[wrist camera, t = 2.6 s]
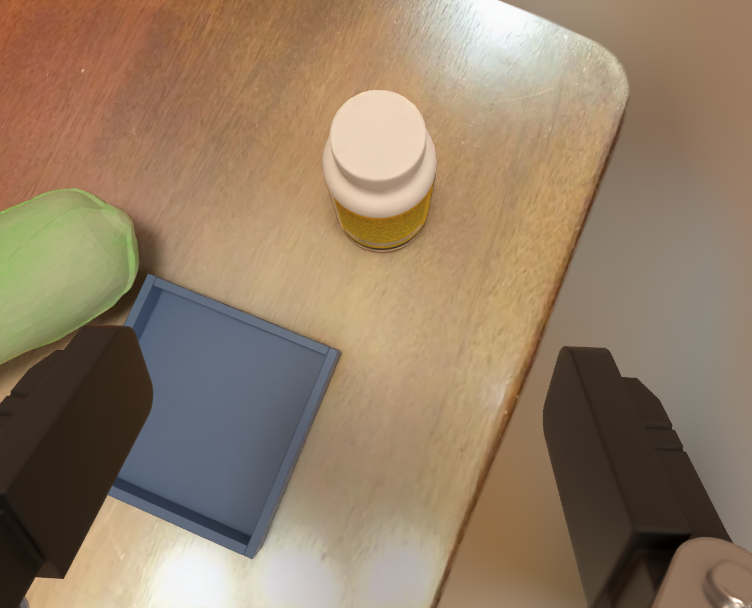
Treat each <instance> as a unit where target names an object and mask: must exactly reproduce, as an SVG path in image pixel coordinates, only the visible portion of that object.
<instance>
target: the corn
mask: <svg viewBox="0 0 752 608" xmlns="http://www.w3.org/2000/svg"><path fill="white" fill-rule="evenodd" d="M138 268H139V254H138V242H137V239H136V236H135V231H134V224H133V221H132V220H131V218H130V216H129V215H128V214H126V213H125V212H124V211H123V210H122V209H119V208H117V207H114V206H111V205H108V204H107V203H106V202H104V201H103V200H101V199H100V198H98V197H97V196H95V195H93V194H91V193H88V192H86V191H83V190H80V189H77V188H71V189H59V190H54V191H49V192H46V193H43V194H41V195H38V196H36V197H34V198H33V199H31V200H28V201H25V202H23V203H20V204H18V205H15V206H13V207H11V208H8V209H6V210H4V211H2V212H0V365H1V364H3V363H5V362H7V361H9V360H11V359H13V358H15V357H17V356H19V355H21V354H23V353H25V352H27V351H29V350H32V349H35V348H38V347H41V346H44V345H47V344H50V343H53V342H55V341H57V340H60V339H61V338H63V337H64V336H66V335H67V334H69V333H71V332H72V331H74V330H76V329H78V328H80V327H81V326H83V325H85V324H86V323H88V322H89V321H91V320H92V319H94V318H95V317H97V316H98V315H100V314H102V313H103V312H105V311H106V310H108V309H109V308H111V307H112V306H114V305H115V304H116V302H117V301H118V300H119V299H120V298H121V297H122V296H123V295H124V294H125V293H126V292H128V291H129V289H130V288H131V287H132V285H133V282H134V280H135V277H136V275H137V272H138Z"/></svg>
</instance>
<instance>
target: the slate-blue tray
mask: <svg viewBox="0 0 752 608" xmlns="http://www.w3.org/2000/svg"><path fill="white" fill-rule="evenodd" d="M124 326H129V327H131V328H132V329H133V330H134V332H135V333H136V336H137V339H138V342H139V345H140V348H141V351H142V354H143V357H144V360H145V363H146V366H147V369H148V372H149V375H150V378H151V381H152V384H153V403H152V408H151V411H150V414H149V416H148V418H147V420H146V422H145V424H144V426H143V428H142V430H141V432H140V433H139V435H138V437H137V439H136V441H135V443H134V445H133V447H132V449H131V451H130V453H129V455H128V456H127V458H126V460H125V462H124V464H123V466H122V468H121V470H120V472H119V474H118V476H117V478H116V479H115V481H114V483H113V485H112V487H111V489H110V491H109V493H108V495H109V496H112V497H114V498H116V499H118V500H120V501H123V502H125V503H127V504H129V505H132V506H134V507H136V508H138V509H141V510H143V511H145V512H147V513H150V514H152V515H154V516H156V517H159V518H161V519H163V520H165V521H167V522H170V523H172V524H174V525H176V526H179V527H181V528H183V529H185V530H188V531H190V532H192V533H194V534H197V535H199V536H201V537H203V538H205V539H208V540H210V541H212V542H214V543H217V544H219V545H221V546H223V547H226V548H228V549H230V550H232V551H235V552H237V553H239V554H241V555H244V556H246V557H248V558H251V559H253V558H254V557H255V555H256V554H257V553H258V552H259V550H260V549H261V548H262V545H263V543H264V540H265V538H266V535H267V533H268V531H269V528H270V526H271V523H272V521H273V518H274V516H275V514H276V511H277V509H278V506H279V504H280V501H281V499H282V496H283V494H284V492H285V489H286V487H287V484H288V482H289V479H290V477H291V475H292V472H293V470H294V467H295V465H296V462H297V460H298V458H299V455H300V453H301V450H302V448H303V445H304V443H305V440H306V438H307V436H308V433H309V431H310V428H311V426H312V423H313V421H314V419H315V416H316V414H317V411H318V409H319V406H320V404H321V401H322V399H323V397H324V394H325V392H326V389H327V387H328V384H329V382H330V380H331V377H332V375H333V372H334V370H335V367H336V365H337V363H338V360H339V358H340V355H341V352H340V351H338V350H336V349H334V348H331V347H329V346H327V345H324V344H322V343H319V342H317V341H314V340H312V339H309V338H307V337H304V336H302V335H299V334H297V333H294V332H292V331H289V330H287V329H285V328H282V327H280V326H277V325H275V324H272V323H270V322H267V321H265V320H262V319H260V318H257V317H255V316H252V315H250V314H248V313H245V312H243V311H240V310H238V309H235V308H233V307H230V306H228V305H225V304H223V303H220V302H218V301H215V300H213V299H210V298H208V297H206V296H203V295H201V294H198V293H196V292H193V291H191V290H188V289H186V288H183V287H181V286H178V285H176V284H173V283H171V282H168V281H166V280H164V279H161V278H159V277H156V276H154V275H151V274H148V275H147V277H146V279H145V281H144V283H143V285H142V288H141V290H140V292H139V294H138V296H137V298H136V300H135V303H134V305H133V307H132V309H131V311H130V313H129V315H128V317H127V320H126V322H125V324H124Z"/></svg>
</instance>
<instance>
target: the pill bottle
mask: <svg viewBox="0 0 752 608" xmlns="http://www.w3.org/2000/svg"><path fill="white" fill-rule="evenodd" d="M436 166H437V158H436V150H435V147H434V143H433V141H432V138H431V136H430V134H429V133H428V131H427V130H426V127H425V122H424V120H423V117H422V115H421V113H420V112H419V110H418V109H417V108H416V106H415V105H414V104H413V103H412V102H410V101H409V100H408V99H407V98H405V97H403V96H402V95H400V94H397V93H395V92H392V91H387V90H371V91H366V92H363V93H360V94H357V95H355V96H353V97H352V98H350V99H349V100H348V101H346V102H345V103H344V104H343V105H342V106H341V107H340V109H339V110H338V111H337V113H336V114H335V116H334V118H333V121H332V124H331V127H330V136H329V138H328V140H327V142H326V144H325V147H324V151H323V158H322V168H323V175H324V179H325V182H326V186H327V189H328V192H329V195H330V198H331V201H332V204H333V207H334V210H335V213H336V216H337V219H338V221H339V224H340V226H341V228H342V230H343V231H344V233H345V234H346V235H347V237H348V238H349V239H350V240H351V241H353V242H354V243H355V244H357V245H358V246H360V247H362V248H364V249H367V250H371V251H376V252H387V251H393V250H397V249H399V248H402V247H404V246H406V245H407V244H409V243H410V242H412V241H413V240H414V239H415V238H416V237H417V236H418V234H419V233H420V232H421V230H422V228H423V227H424V224H425V222H426V219H427V216H428V211H429V206H430V201H431V196H432V191H433V186H434V181H435V175H436Z"/></svg>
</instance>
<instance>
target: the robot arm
mask: <svg viewBox="0 0 752 608" xmlns="http://www.w3.org/2000/svg"><path fill="white" fill-rule="evenodd" d="M152 403H153V384H152V381H151V378H150V375H149V372H148V369H147V366H146V363H145V360H144V357H143V354H142V351H141V348H140V345H139V342H138V339H137V336H136V333H135V332H134V330H133V329H132V328H131V327H129V326H116V325H93V324H89V325H85V326H84V327H82V328H81V329H80V330H79V332H78V333H77V334H76V335H75V337H74V338H73V339H72V340H71V342H70V343H69V344H68V346H67V347H66V348H65V349H64V351H63V350H56V351H55V352H53V353H52V354H50V355H49V356H47V357H46V358H44V359H43V360H42V361H40V362H39V363H37V364H36V365H34V366H33V367H32V368H30V369H29V370H28V371H27V372H26V374H25V375H24V376H23V377H22V378H21V380H20V381H19V382H18V383H17V384H16V386H15V387H14V388H13V389H12V390H11V395H10V396H6V398H5V399H4V400H3V401H2V402H1V404H0V608H30V607H29V603H28V600H27V599H26V597H25V595H26V593H27V591H28V589H29V588H30V586H31V584H32V582H33V581H34V579H35V577H42V578H58V579H64V577H65V575H66V573H67V571H68V570H69V568H70V566H71V564H72V562H73V560H74V558H75V556H76V554H77V552H78V550H79V548H80V547H81V545H82V543H83V541H84V539H85V537H86V535H87V533H88V531H89V529H90V527H91V525H92V524H93V522H94V520H95V518H96V516H97V514H98V512H99V510H100V508H101V506H102V504H103V502H104V501H105V499H106V497H107V495H108V493H109V491H110V489H111V487H112V485H113V483H114V481H115V479H116V478H117V476H118V474H119V472H120V470H121V468H122V466H123V464H124V462H125V460H126V458H127V456H128V455H129V453H130V451H131V449H132V447H133V445H134V443H135V441H136V439H137V437H138V435H139V433H140V432H141V430H142V428H143V426H144V424H145V422H146V420H147V418H148V416H149V414H150V411H151V408H152ZM543 430H544V436H545V440H546V444H547V448H548V452H549V456H550V460H551V464H552V468H553V472H554V476H555V480H556V484H557V487H558V491H559V495H560V499H561V503H562V507H563V511H564V515H565V519H566V523H567V527H568V531H569V535H570V539H571V543H572V547H573V550H574V554H575V558H576V562H577V566H578V570H579V574H580V578H581V582H582V586H583V590H584V594H585V598H586V602H587V606H588V608H752V553H750V552H749V551H747V550H745V549H744V548H742V547H740V546H737V545H736V544H734V543H733V542H732V540H731V539H730V537H729V535H728V533H727V532H726V530H725V528H724V526H723V524H722V522H721V520H720V518H719V516H718V514H717V512H716V510H715V508H714V506H713V504H712V502H711V500H710V498H709V496H708V494H707V492H706V490H705V488H704V486H703V485H702V482H701V480H700V478H699V477H698V475H697V473H696V471H695V469H694V467H693V465H692V463H691V461H690V459H689V457H688V455H687V453H686V452H684V451H683V445H682V443H681V441H680V439H679V437H678V435H677V433H676V431H675V430H672V423H671V422H670V420H669V418H668V416H667V414H666V412H665V410H664V408H663V406H662V404H661V402H660V400H659V399H658V398H657V397H656V396H655V395H654V394H653V393H652V392H651V391H650V390H649V389H648V388H647V387H646V386H644V384H642V383H641V382H640V381H639V380H638V379H637V378H627V377H621V375H620V372H619V370H618V368H617V366H616V364H615V361H614V359H613V357H612V355H611V353H610V351H609V350H608V349H606V348H593V347H592V348H591V347H568V346H564V347H563V348H562V349H561V350H560V352H559V355H558V358H557V362H556V365H555V368H554V372H553V376H552V379H551V382H550V386H549V389H548V393H547V397H546V400H545V404H544V409H543Z"/></svg>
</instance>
